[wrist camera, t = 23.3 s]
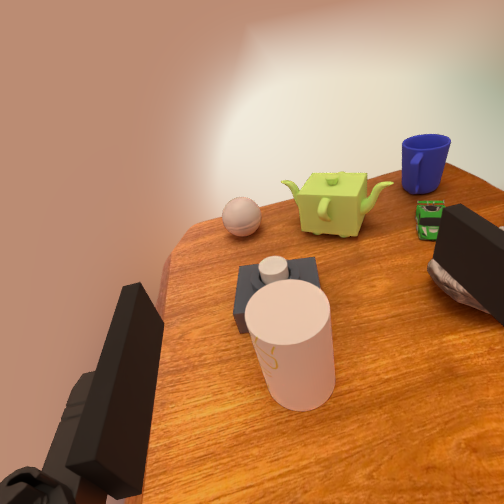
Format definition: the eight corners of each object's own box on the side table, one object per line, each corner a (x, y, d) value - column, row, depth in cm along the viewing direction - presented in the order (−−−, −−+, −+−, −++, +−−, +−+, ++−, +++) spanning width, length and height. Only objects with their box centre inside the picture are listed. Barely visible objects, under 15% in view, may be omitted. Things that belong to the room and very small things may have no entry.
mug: (386, 204, 61) (390, 156, 55) (404, 178, 68) (408, 133, 62) (432, 209, 56) (441, 158, 51) (446, 181, 63) (455, 133, 57)
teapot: (286, 222, 64) (279, 175, 57) (340, 200, 66) (338, 153, 60) (327, 258, 52) (323, 204, 45) (390, 230, 54) (395, 175, 48)
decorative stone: (417, 294, 38) (451, 218, 34) (425, 261, 49) (451, 201, 44) (567, 350, 31) (631, 265, 27) (537, 298, 42) (580, 231, 38)
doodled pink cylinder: (263, 352, 39) (243, 287, 32) (325, 342, 39) (318, 273, 32) (270, 416, 33) (246, 352, 26) (344, 405, 32) (341, 335, 25)
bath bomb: (226, 227, 67) (217, 195, 62) (261, 219, 67) (254, 186, 62) (228, 247, 60) (217, 213, 56) (267, 238, 60) (259, 203, 55)
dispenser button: (260, 287, 41) (257, 276, 40) (261, 268, 44) (258, 257, 43) (289, 284, 40) (287, 272, 39) (288, 265, 44) (286, 254, 42)
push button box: (239, 333, 43) (229, 304, 39) (245, 284, 51) (236, 257, 47) (325, 326, 41) (322, 295, 37) (317, 276, 49) (313, 247, 45)
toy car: (449, 242, 49) (452, 230, 47) (416, 241, 50) (418, 229, 49) (443, 210, 56) (445, 199, 54) (414, 210, 57) (416, 199, 56)
